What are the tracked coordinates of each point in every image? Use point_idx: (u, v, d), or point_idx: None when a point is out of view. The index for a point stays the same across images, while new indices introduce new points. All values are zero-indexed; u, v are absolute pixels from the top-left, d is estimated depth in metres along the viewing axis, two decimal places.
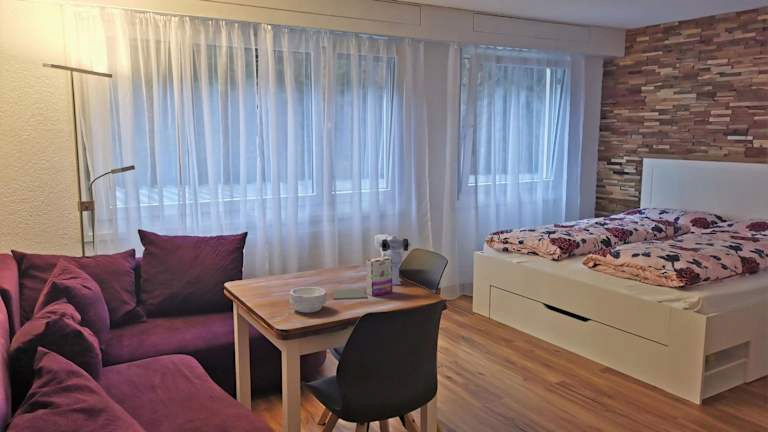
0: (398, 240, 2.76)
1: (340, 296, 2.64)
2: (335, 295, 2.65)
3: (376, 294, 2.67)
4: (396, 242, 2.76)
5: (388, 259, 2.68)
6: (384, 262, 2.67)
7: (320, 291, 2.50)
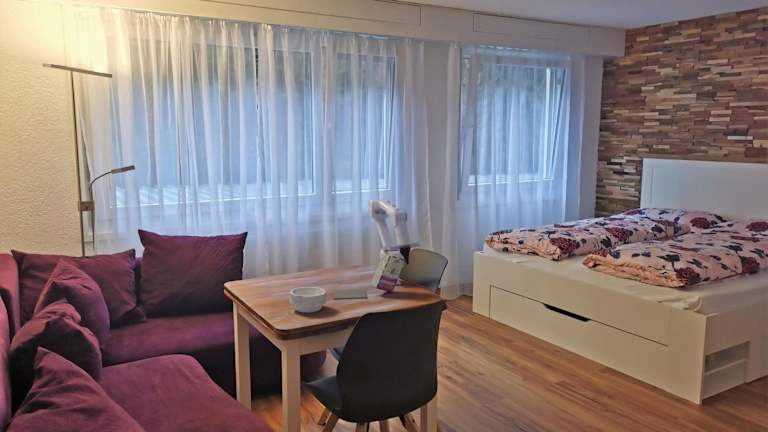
0: (408, 244, 2.70)
1: (340, 296, 2.64)
2: (335, 295, 2.65)
3: (380, 288, 2.66)
4: (406, 245, 2.71)
5: (402, 260, 2.70)
6: (398, 261, 2.69)
7: (320, 291, 2.50)
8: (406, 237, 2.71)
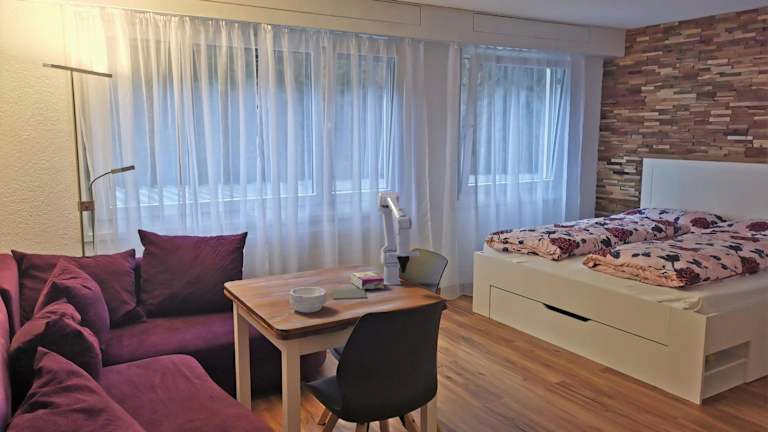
0: None
1: (340, 296, 2.64)
2: (335, 295, 2.65)
3: (366, 279, 2.75)
4: None
5: (368, 272, 2.91)
6: (364, 272, 2.89)
7: (320, 291, 2.50)
8: (406, 248, 2.66)
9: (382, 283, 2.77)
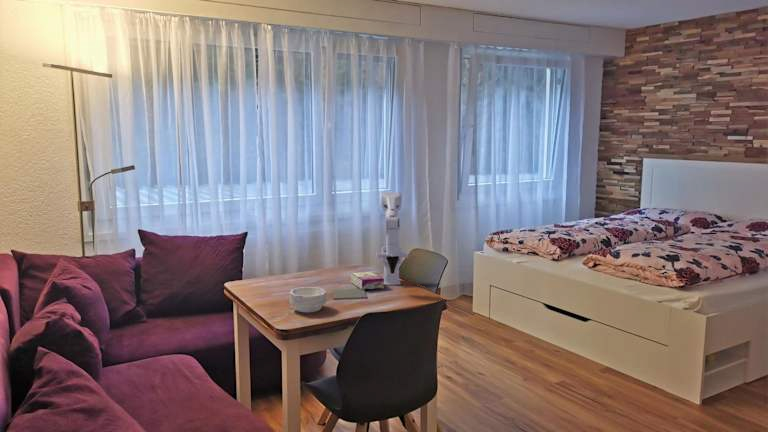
0: None
1: (340, 296, 2.64)
2: (335, 295, 2.65)
3: (366, 279, 2.75)
4: None
5: (368, 272, 2.91)
6: (364, 272, 2.89)
7: (320, 291, 2.50)
8: (396, 248, 2.66)
9: (382, 283, 2.77)
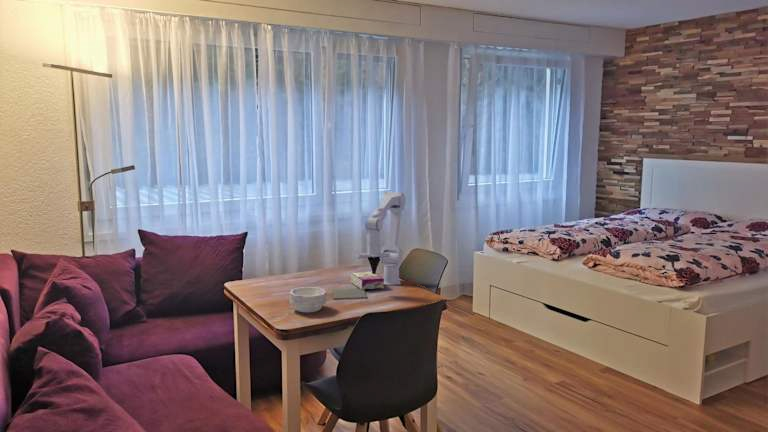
0: None
1: (340, 296, 2.64)
2: (335, 295, 2.65)
3: (366, 279, 2.75)
4: None
5: (368, 272, 2.91)
6: (364, 272, 2.89)
7: (320, 291, 2.50)
8: (377, 248, 2.65)
9: (382, 283, 2.77)
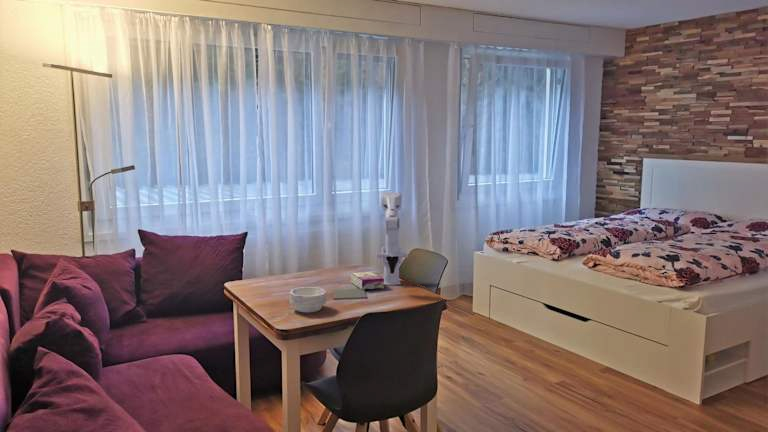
0: None
1: (340, 296, 2.64)
2: (335, 295, 2.65)
3: (366, 279, 2.75)
4: None
5: (368, 272, 2.91)
6: (364, 272, 2.89)
7: (320, 291, 2.50)
8: (395, 248, 2.66)
9: (382, 283, 2.77)
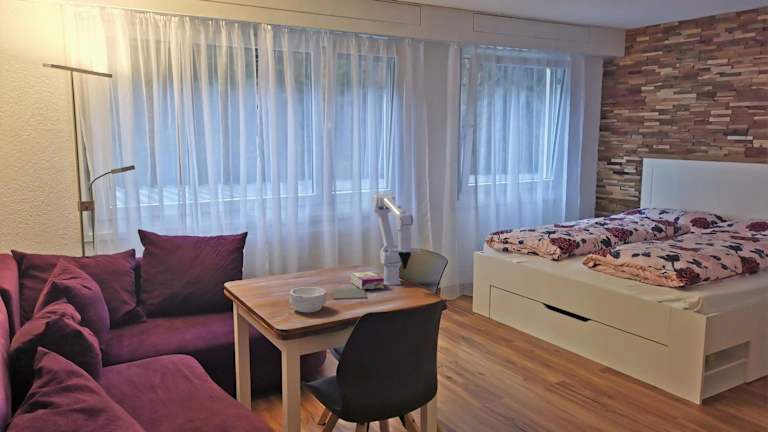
0: None
1: (340, 296, 2.64)
2: (335, 295, 2.65)
3: (366, 279, 2.75)
4: None
5: (368, 272, 2.91)
6: (364, 272, 2.89)
7: (320, 291, 2.50)
8: (408, 244, 2.70)
9: (382, 283, 2.77)
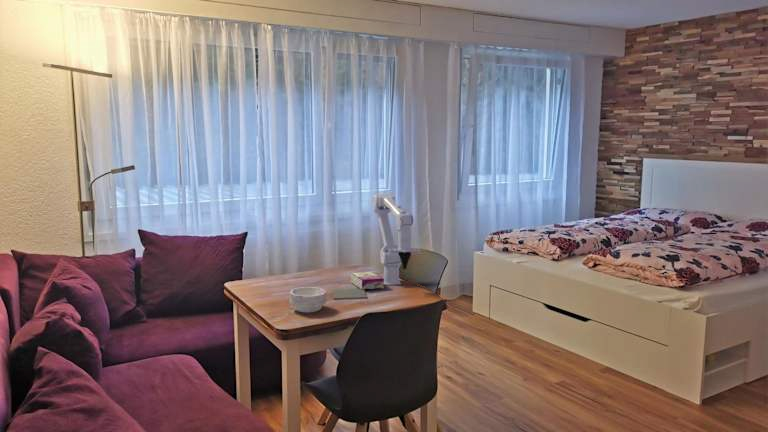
0: None
1: (340, 296, 2.64)
2: (335, 295, 2.65)
3: (366, 279, 2.75)
4: None
5: (368, 272, 2.91)
6: (364, 272, 2.89)
7: (320, 291, 2.50)
8: (408, 244, 2.70)
9: (382, 283, 2.77)
